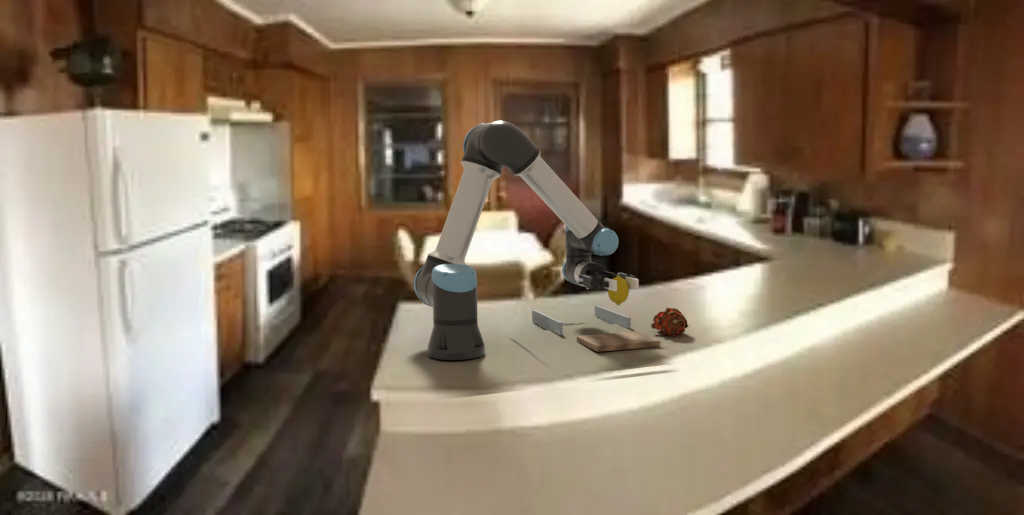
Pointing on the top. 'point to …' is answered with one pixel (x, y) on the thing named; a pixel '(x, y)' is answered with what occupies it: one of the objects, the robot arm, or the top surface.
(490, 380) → the top surface
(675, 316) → the dragon fruit
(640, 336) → the board
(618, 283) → the lemon
